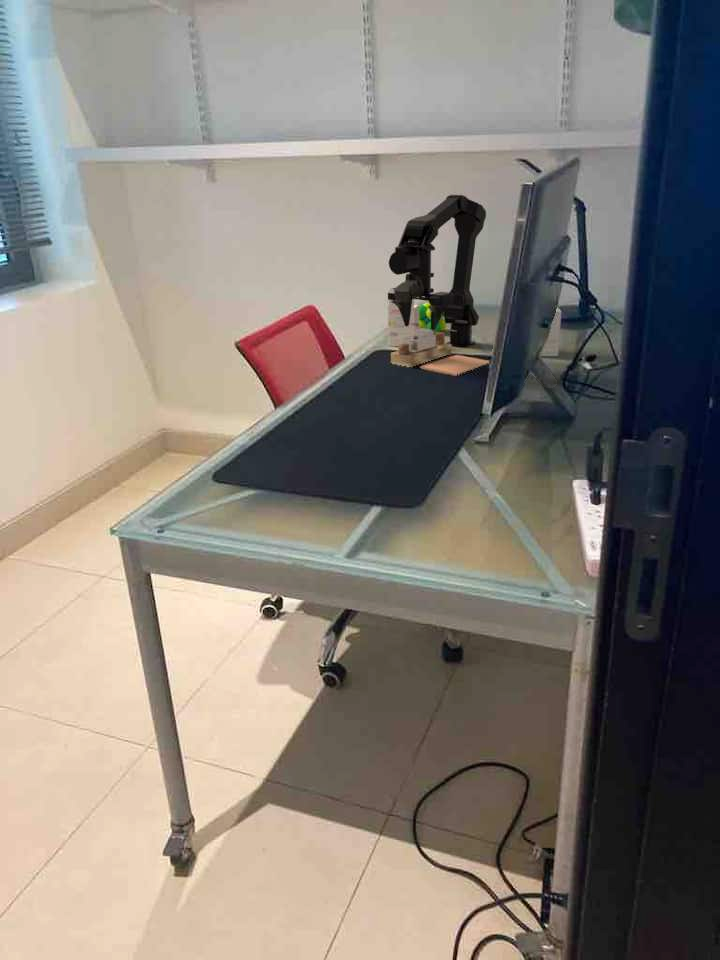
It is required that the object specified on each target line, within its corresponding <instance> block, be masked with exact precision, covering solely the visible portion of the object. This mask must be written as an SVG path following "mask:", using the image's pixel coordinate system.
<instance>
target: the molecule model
mask: <svg viewBox="0 0 720 960" xmlns="http://www.w3.org/2000/svg"><path fill="white" fill-rule="evenodd" d="M418 305H419V329H421V328H424V329H430V330H431V311H430V309H429V308H428V306H432V305H430V303H429V302H425V303H423V304H418ZM446 328H447V323H445V319H444V313H443V314H442V315H441V318H440V320H439V322H438V324H437V326H436V328H435V330H433V333H436V332H444V330H446Z"/></svg>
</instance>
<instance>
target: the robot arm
mask: <svg viewBox="0 0 720 960" xmlns="http://www.w3.org/2000/svg"><path fill="white" fill-rule="evenodd" d="M486 218H487V211H486V209H485V208H484V206H483V205H482V204H481V203H478V202H476V201H474V200H471V199H469V198H468V197H467V196H465V195H463V194H449V195H447V197H446V198H445V199H444V200H443V201H442V202H440V203H439V204H438V205H437V206H436V207H434V208H433V209H431V211H429V212H428V213H427V214H425V215H421V216H417V217H414V218H412V219H409V220H408V221H407V222H406V225H405V227H404V229H403V233H402V235H401V238H400V240H399V243H398V246H395V249H394V252H393V253H391V255H390V257H389V260H388V266H389V269H390V271H391V272H392V273H393V274H395V275H399V276H400V275H404V274H406V275H405V281H403V282H401V283H400V284H398V285H397V286H395V287H393V288H392V287H391V288H389V290H388V291H387V300H388V299H389V300H393V301H391V302H392V303H394V304H395V305H396V306H398V308H399V310H400V313H401V315H402V318H403V321H404V324H405V326H409V322H410V314H411V306H412V299H414V300H418V301H419V300H420V301H427V302H428V303H430V305H432V306H428V308H429V309H430V311H431V330H432V331H433V330H435V328H436V326H437V324H438V322H439V320H440V318H441V315H442V314H443V313H444V317H443V319H444V320H445V323H446V324H450V330H449V341H448V342H447V341H446V342H445V343H446V344H451V346H454V347H460V348H466V347H468V346H472V345H475V344H476V341H473V340H472V332H473V331H472V330H473V329H472V328H473V326H477V325H478V324H479V323H478V322H479V319H480V316H479V314H478V313H477V311H476V309H475V307H474V297H473V295H472V292H471V291H470V289H471V287H470V286H471V279H472V272H473V263H474V255H475V248H476V241H477V237H478V236H479V234H480V233H481V231H482V230H483V228H484V223H485V220H486ZM451 219H453V220H454V224H453V225H454V229H455V230H456V233H457V235H458V238H457V239H458V240H457V248H456V255H455V264H454V265H455V266H454V272H453V280H452V288H451V289H450V291H448V292H447V291H446V292H445V291H438V292H434V288H432V287H431V285H432V283H431V281H432V279H431V278H434V277H435V276H434V275H435V273H434V272H432V251H435V250H436V247H435V246H434V245H433V244H432V242H433V241H434V240H435V239H436V238H437V237H438V235H439V230H440V228H441V227H443V226H444V225H445V224H447V223H448V221H450V220H451Z"/></svg>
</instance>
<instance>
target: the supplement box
mask: <svg viewBox="0 0 720 960" xmlns="http://www.w3.org/2000/svg"><path fill="white" fill-rule="evenodd" d="M556 307H557V309H556V313H555V316H554V319H553V321H552V324H551V329H550V333H549V337H548V339H547V342H546V344H545V347H544V349H543V352H542V356H541V357H559V351H560V350H559V349H560V348H559V347H560V336H561V324H562V323H561V322H562V311H561V309H560V308H559V307H558V306H556Z"/></svg>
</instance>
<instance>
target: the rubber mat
mask: <svg viewBox="0 0 720 960" xmlns="http://www.w3.org/2000/svg"><path fill="white" fill-rule="evenodd" d="M489 361H490V360H487V359H480V358H476V357H469V356H465V355H460V354H455V355H450V356H447V357H444V358H441V359H437V360H434V361H431V362H428V363H425V364H422V365H421V366H420V365H419V368H421V369H420V370H425V371H431V372H436V373H440V374H444V375H449V374H450V376H454V377H457V375H458V376H461V375H463V374H462V373H464V374H466V373H465V372H467V371H470V370H472V371H474V370H473V369H475V368H478V367H480V366H482V365H486V364H487V363H488V364H489ZM489 365H490V364H489ZM478 369H479V368H478ZM475 370H476V369H475ZM470 372H471V371H470ZM467 373H468V372H467ZM460 374H461V375H460Z"/></svg>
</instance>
